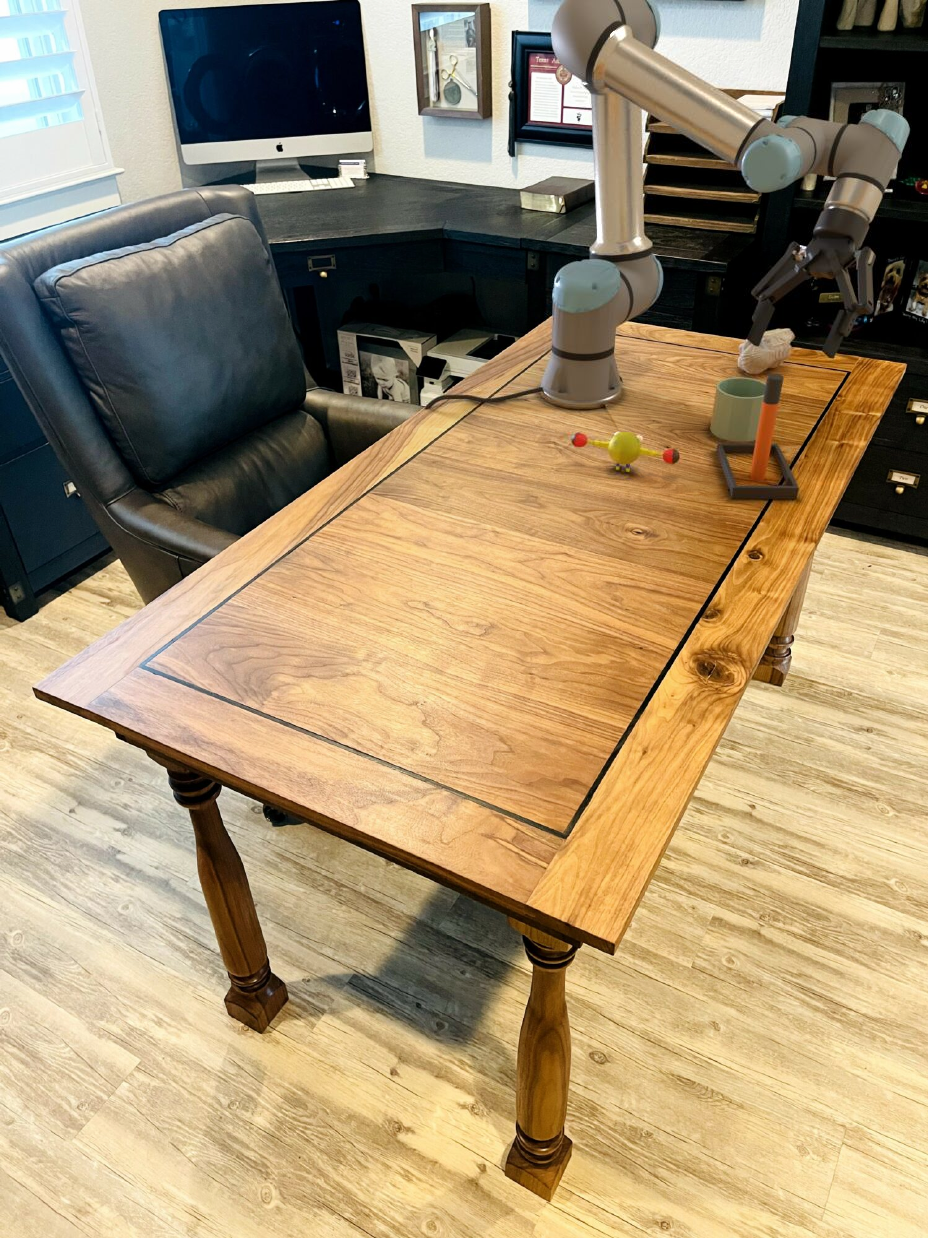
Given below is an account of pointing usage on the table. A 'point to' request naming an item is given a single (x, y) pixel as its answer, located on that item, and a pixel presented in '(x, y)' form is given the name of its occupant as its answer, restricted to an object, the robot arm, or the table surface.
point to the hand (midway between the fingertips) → (788, 348)
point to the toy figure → (625, 449)
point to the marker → (766, 426)
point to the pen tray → (757, 491)
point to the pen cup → (737, 409)
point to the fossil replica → (766, 351)
